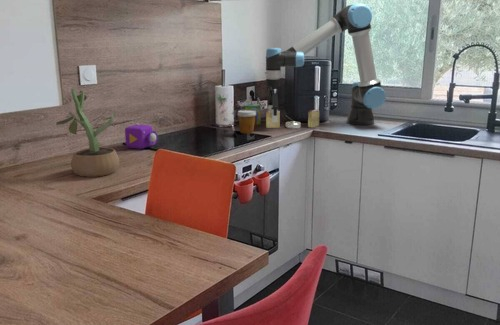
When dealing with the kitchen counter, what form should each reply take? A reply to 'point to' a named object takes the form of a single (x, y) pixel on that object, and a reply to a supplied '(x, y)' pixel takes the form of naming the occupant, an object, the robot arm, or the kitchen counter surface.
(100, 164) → the potted plant
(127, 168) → the kitchen counter surface
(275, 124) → the tan striped slab
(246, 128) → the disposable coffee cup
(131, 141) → the toy camera
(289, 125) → the base plate
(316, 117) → the yellow white layered bar
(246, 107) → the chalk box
